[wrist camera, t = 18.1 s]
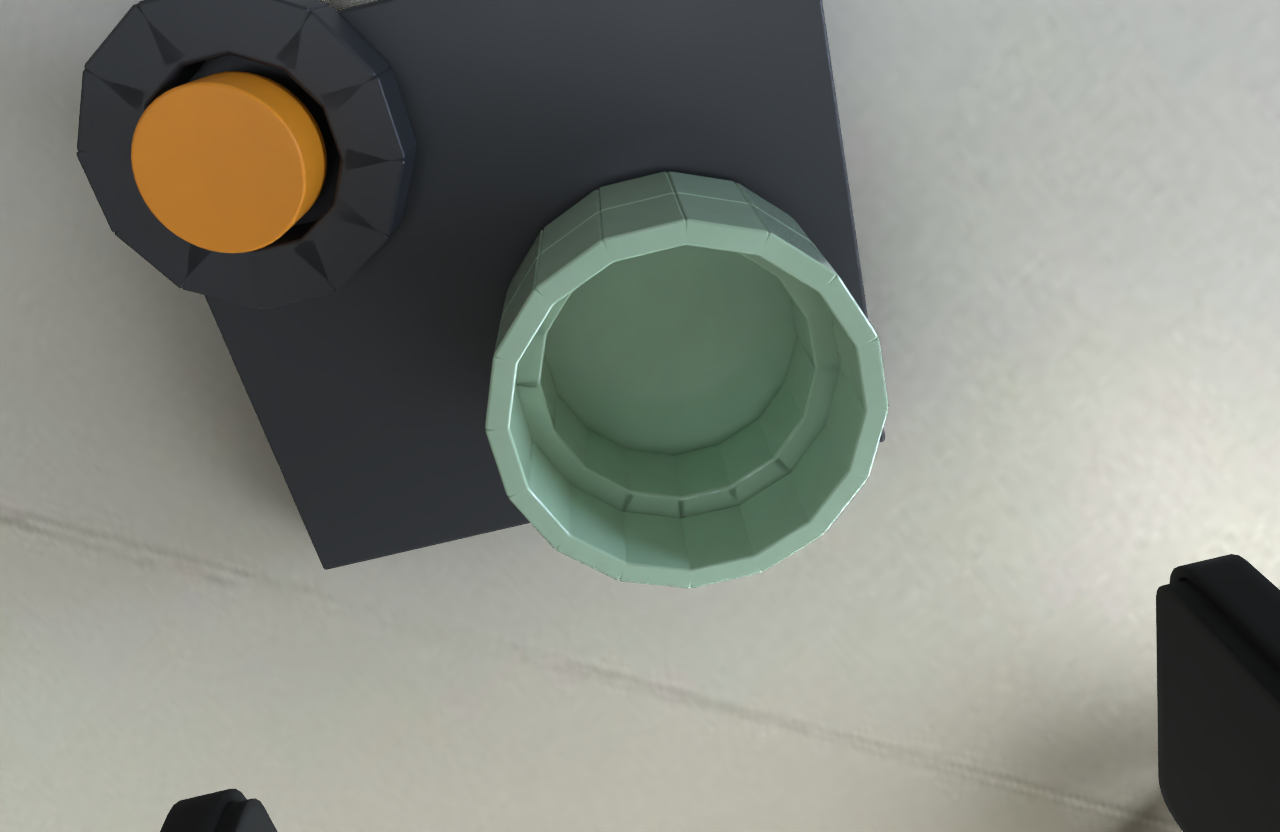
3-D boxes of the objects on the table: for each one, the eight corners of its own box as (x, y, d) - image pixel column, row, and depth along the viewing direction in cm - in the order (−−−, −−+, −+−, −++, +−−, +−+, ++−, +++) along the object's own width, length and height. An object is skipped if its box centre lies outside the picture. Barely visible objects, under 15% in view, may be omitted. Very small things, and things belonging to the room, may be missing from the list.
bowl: (553, 506, 24) (548, 621, 20) (462, 215, 21) (434, 279, 17) (851, 438, 24) (907, 540, 20) (802, 131, 21) (857, 177, 17)
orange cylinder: (204, 246, 20) (173, 270, 19) (139, 92, 19) (99, 105, 17) (350, 209, 20) (330, 232, 18) (293, 53, 19) (267, 62, 17)
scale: (319, 545, 26) (289, 614, 23) (92, 21, 21) (18, 32, 18) (871, 417, 26) (906, 473, 23) (785, -160, 20) (817, -176, 17)
